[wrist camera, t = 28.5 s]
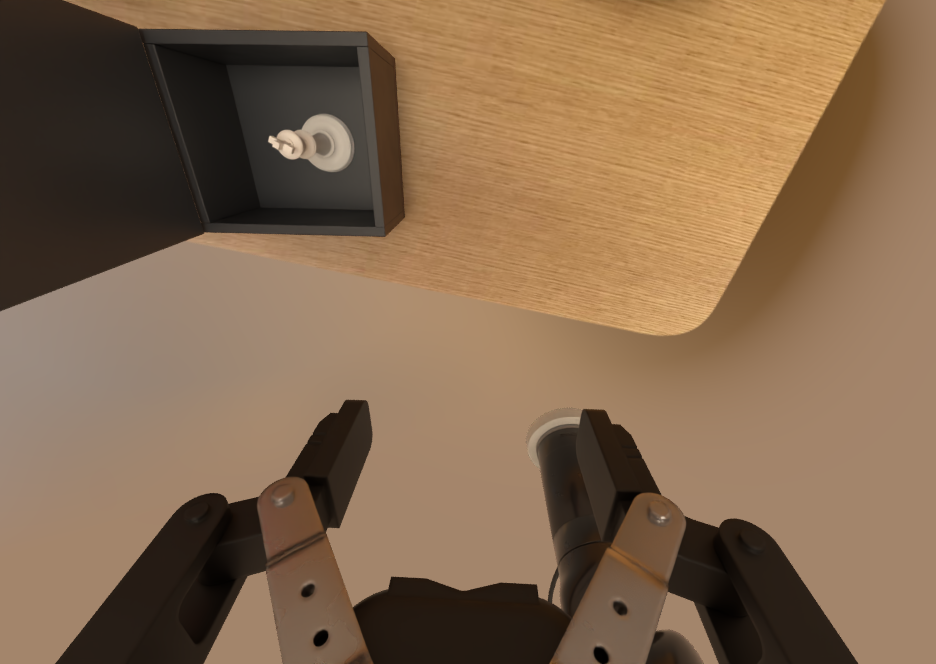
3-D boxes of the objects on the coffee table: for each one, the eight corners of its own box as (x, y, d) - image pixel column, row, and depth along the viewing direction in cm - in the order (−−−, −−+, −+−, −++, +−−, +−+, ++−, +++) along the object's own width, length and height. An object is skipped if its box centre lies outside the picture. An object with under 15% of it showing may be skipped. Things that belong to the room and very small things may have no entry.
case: (394, 58, 32) (366, 31, 24) (404, 217, 38) (385, 236, 30) (220, 55, 32) (137, 28, 24) (259, 213, 38) (203, 232, 31)
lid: (-347, -149, 9) (-574, -161, 9) (-22, 320, 16) (-150, 320, 16) (137, 26, 24) (55, 24, 24) (204, 233, 30) (140, 233, 30)
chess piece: (344, 181, 36) (300, 195, 27) (296, 155, 35) (234, 160, 26) (361, 131, 34) (319, 128, 25) (311, 102, 33) (248, 88, 24)
